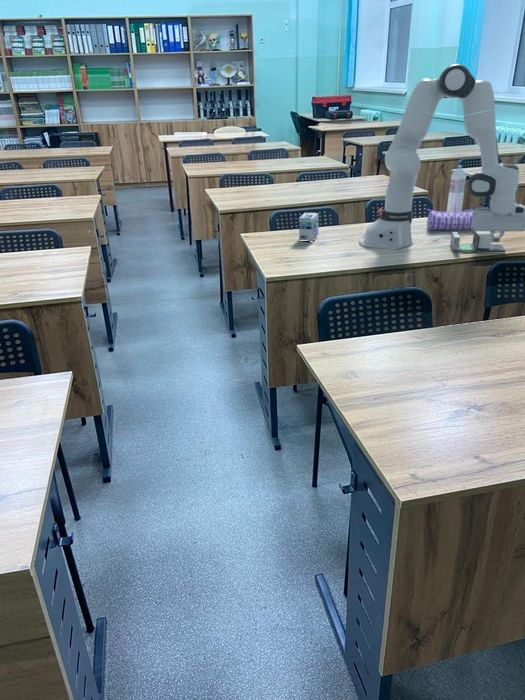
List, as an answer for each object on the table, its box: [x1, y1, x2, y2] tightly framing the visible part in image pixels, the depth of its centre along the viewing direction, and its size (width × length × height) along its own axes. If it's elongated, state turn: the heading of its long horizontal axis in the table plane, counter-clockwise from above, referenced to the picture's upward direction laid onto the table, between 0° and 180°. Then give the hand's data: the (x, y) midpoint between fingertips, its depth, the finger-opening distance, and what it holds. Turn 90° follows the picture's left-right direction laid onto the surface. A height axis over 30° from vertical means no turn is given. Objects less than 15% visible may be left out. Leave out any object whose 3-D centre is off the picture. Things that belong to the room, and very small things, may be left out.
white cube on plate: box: [472, 231, 493, 249], centre depth 211 cm, size 6×8×5 cm, turn 170°
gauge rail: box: [449, 231, 506, 254], centre depth 212 cm, size 20×8×6 cm, turn 80°
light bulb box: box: [298, 212, 320, 241], centre depth 234 cm, size 11×7×11 cm, turn 161°
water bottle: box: [446, 165, 467, 212], centre depth 252 cm, size 7×7×25 cm
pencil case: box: [426, 208, 474, 231], centre depth 239 cm, size 22×9×10 cm, turn 87°
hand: (495, 241), depth 210 cm, fingers closed
